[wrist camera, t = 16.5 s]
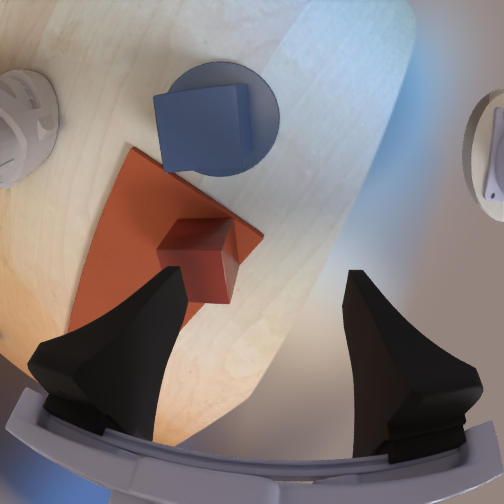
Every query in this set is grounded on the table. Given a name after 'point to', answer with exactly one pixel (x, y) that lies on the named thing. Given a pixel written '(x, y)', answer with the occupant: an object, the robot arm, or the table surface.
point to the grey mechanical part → (25, 124)
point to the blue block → (204, 128)
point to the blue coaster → (260, 106)
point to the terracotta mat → (142, 235)
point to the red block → (203, 257)
